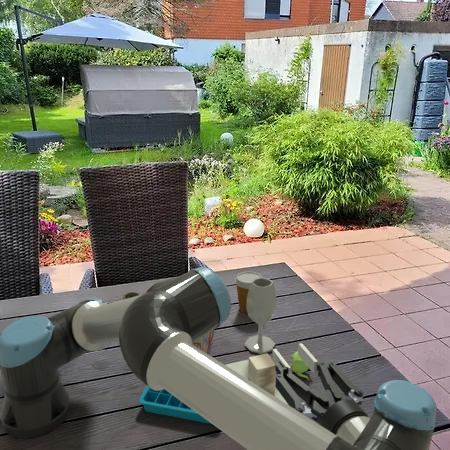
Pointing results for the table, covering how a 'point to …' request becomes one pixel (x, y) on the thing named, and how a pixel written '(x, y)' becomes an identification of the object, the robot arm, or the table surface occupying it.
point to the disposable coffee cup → (244, 287)
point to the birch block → (262, 372)
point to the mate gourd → (130, 295)
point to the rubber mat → (243, 371)
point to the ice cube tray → (167, 405)
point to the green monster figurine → (299, 365)
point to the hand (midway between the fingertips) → (287, 351)
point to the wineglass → (261, 313)
